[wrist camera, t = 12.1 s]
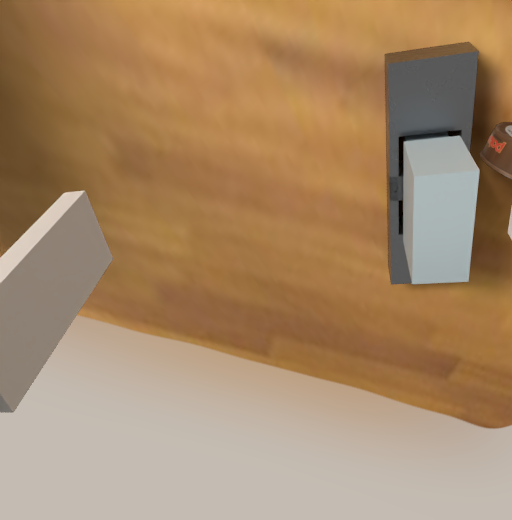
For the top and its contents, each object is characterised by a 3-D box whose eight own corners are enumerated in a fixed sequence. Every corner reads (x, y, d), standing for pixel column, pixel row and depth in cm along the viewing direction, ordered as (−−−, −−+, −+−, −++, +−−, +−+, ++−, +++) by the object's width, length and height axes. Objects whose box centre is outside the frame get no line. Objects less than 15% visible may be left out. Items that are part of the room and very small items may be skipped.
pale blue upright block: (398, 217, 44) (412, 284, 36) (398, 123, 39) (414, 176, 31) (443, 214, 43) (468, 281, 35) (449, 117, 38) (479, 170, 30)
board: (388, 265, 48) (391, 284, 45) (384, 54, 36) (388, 63, 34) (452, 261, 46) (458, 281, 44) (468, 41, 35) (478, 51, 33)
